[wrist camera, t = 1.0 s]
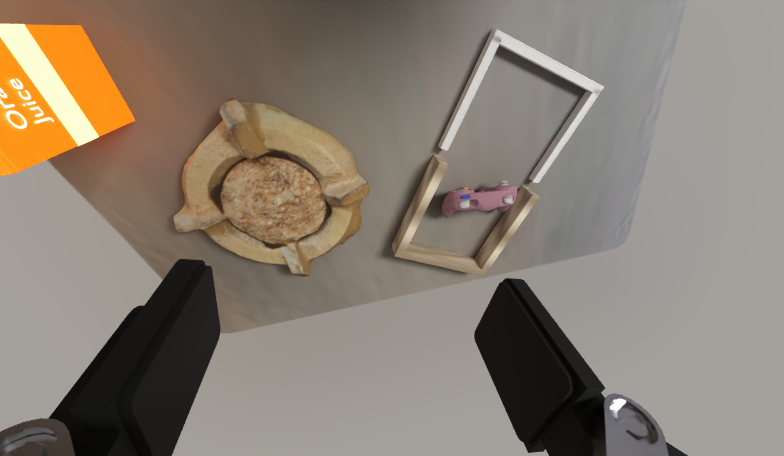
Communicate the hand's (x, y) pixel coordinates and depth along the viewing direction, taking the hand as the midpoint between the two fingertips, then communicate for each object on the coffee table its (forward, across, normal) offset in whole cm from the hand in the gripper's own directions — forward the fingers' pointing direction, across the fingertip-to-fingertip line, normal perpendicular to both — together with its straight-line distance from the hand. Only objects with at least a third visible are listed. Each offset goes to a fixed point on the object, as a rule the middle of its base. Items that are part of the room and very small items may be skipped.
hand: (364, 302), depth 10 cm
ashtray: (+31, +8, +12) cm, 34 cm away
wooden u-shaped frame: (+30, -18, +13) cm, 38 cm away
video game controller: (+31, -19, +8) cm, 37 cm away
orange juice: (+31, +28, +2) cm, 41 cm away
